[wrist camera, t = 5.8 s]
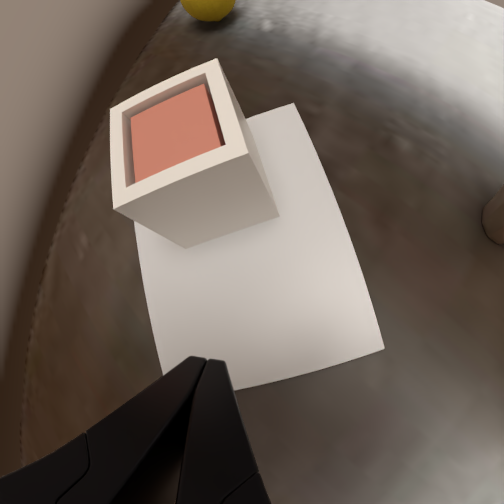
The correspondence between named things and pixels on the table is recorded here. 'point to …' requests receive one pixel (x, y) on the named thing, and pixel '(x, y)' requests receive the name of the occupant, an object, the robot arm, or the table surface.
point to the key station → (243, 244)
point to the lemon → (208, 9)
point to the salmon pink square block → (174, 132)
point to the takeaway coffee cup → (494, 217)
